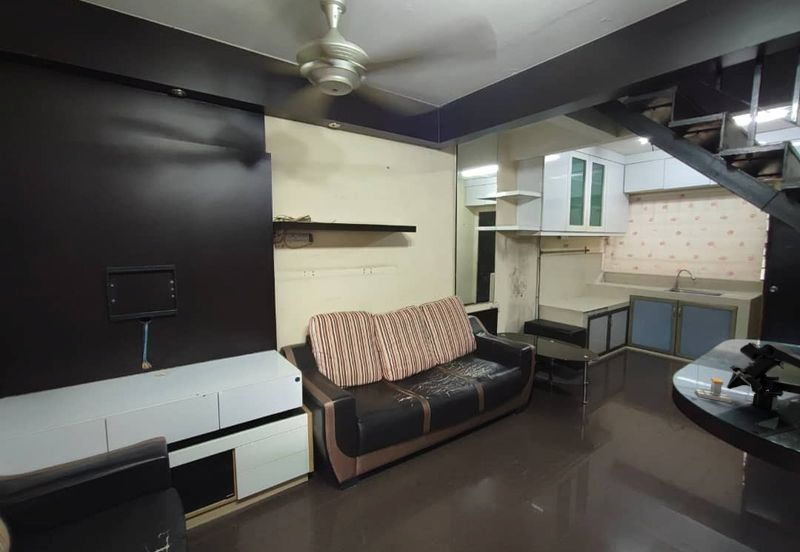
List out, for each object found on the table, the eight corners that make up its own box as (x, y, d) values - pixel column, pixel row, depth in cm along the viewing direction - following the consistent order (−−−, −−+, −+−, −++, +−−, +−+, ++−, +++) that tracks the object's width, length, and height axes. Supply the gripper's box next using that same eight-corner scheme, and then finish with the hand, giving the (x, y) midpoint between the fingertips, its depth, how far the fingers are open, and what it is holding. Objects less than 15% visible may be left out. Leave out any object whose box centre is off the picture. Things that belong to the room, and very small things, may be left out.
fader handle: (717, 392, 164) (719, 379, 164) (721, 396, 160) (723, 382, 159) (709, 391, 166) (711, 377, 165) (712, 394, 161) (714, 380, 161)
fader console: (726, 397, 163) (727, 394, 163) (731, 402, 158) (731, 399, 158) (695, 391, 169) (695, 388, 169) (698, 396, 164) (699, 393, 163)
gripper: (789, 388, 145) (753, 410, 151) (768, 374, 162) (736, 394, 167) (763, 367, 148) (728, 389, 154) (745, 356, 165) (715, 376, 171)
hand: (728, 388), depth 161 cm, fingers closed
